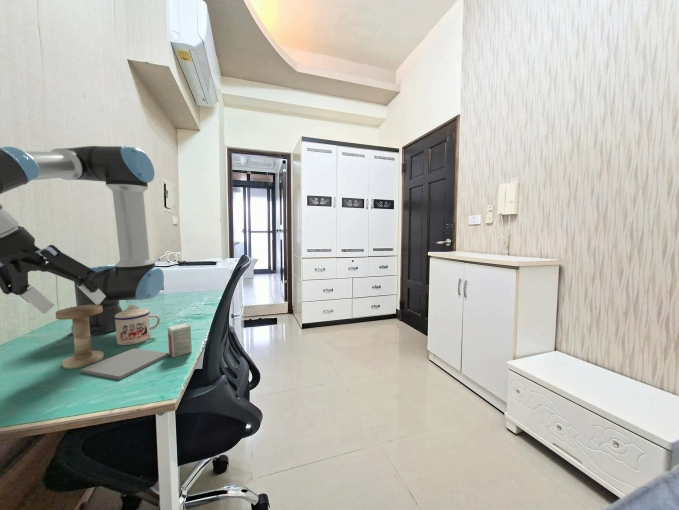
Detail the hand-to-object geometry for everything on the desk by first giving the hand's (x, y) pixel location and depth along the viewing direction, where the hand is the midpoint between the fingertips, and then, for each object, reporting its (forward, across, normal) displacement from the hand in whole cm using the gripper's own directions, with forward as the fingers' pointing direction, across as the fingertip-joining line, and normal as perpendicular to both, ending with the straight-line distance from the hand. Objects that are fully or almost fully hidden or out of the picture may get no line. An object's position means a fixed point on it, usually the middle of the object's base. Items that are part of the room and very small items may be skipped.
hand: (75, 305), depth 67 cm
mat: (+17, +7, -7) cm, 20 cm away
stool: (+16, -6, -5) cm, 18 cm away
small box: (+22, +17, -3) cm, 28 cm away
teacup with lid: (+25, -3, +8) cm, 26 cm away
